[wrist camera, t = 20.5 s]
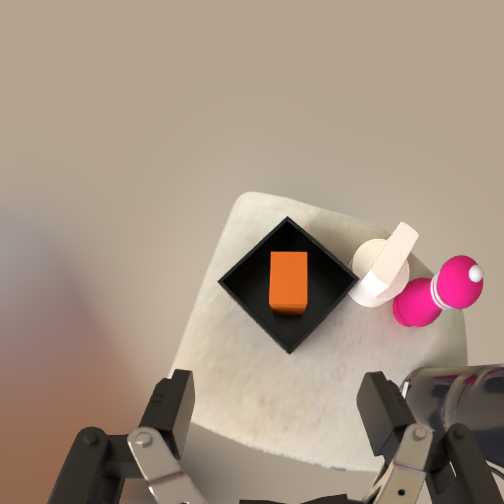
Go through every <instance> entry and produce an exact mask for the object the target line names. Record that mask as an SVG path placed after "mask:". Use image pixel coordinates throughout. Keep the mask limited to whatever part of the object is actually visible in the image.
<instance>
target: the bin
mask: <svg viewBox="0 0 504 504" xmlns="http://www.w3.org/2000/svg"><path fill="white" fill-rule="evenodd" d="M271 252H307V306H306V308H305V311H304V314H303V316H274V315H273V312H272V309H271V306H270V303H269V297H270V273H271ZM359 280H360V278H359V277H358V276H357V275H355V274H354V273H353V272H352V271H351V270H350V269H349V268H348V267H346V266H345V265H344V264H343V263H342V262H341V261H340V260H339V259H337V258H336V257H335V256H334V255H333V254H332V253H331V252H329V251H328V250H327V249H326V248H325V247H324V246H322V245H321V244H320V243H319V242H318V241H317V240H315V239H314V238H313V237H312V236H311V235H310V234H308V233H307V232H306V231H305V230H304V229H302V228H301V227H300V226H299V225H298V224H296V223H295V222H294V221H293V220H292V219H290V218H289V217H288V216H287V217H286V218H285V219H284V220H283V221H282V222H281V223H279V224H278V225H277V226H276V227H275V228H274V229H273V230H272V231H271V232H270V233H269V234H268V235H267V236H266V237H264V238H263V239H262V240H261V241H260V242H259V243H258V244H257V245H256V246H255V247H254V248H253V249H252V250H251V251H249V252H248V253H247V254H246V255H245V256H244V257H243V258H242V259H241V260H240V261H239V262H238V263H237V264H236V265H234V266H233V267H232V268H231V269H230V270H229V271H228V272H227V273H226V274H225V275H224V276H223V277H222V278H221V279H219V280H218V281H217V282H218V283H219V284H220V285H221V286H222V288H223V289H224V290H225V291H226V292H227V293H228V294H229V295H230V296H231V298H232V299H233V300H234V301H235V302H236V303H237V304H238V305H239V306H240V307H241V308H242V309H243V310H244V311H245V312H246V313H247V314H248V315H249V316H250V317H251V318H252V319H253V320H254V321H255V322H256V323H257V324H258V325H259V326H260V327H261V328H262V329H263V330H264V331H265V332H266V333H267V334H268V335H269V336H270V337H271V338H272V339H273V340H274V341H275V342H276V343H277V344H278V345H279V346H280V347H281V348H282V349H283V350H284V351H285V352H286V353H287V354H288V355H290V354H291V353H292V352H293V351H294V350H295V349H296V348H297V347H298V346H299V345H300V344H301V343H302V342H303V341H304V340H305V339H306V338H307V337H308V336H309V335H310V334H311V333H312V332H313V331H314V329H315V328H316V327H317V326H318V325H319V324H320V323H321V322H322V321H323V320H324V319H325V318H326V317H327V316H328V315H329V314H330V312H331V311H332V310H333V309H334V308H335V307H336V306H337V305H338V304H339V303H340V302H341V300H342V299H343V298H344V297H345V296H346V295H347V294H348V292H349V291H350V290H351V289H352V288H353V287H354V285H355V284H356V283H357V282H358V281H359Z"/></svg>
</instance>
